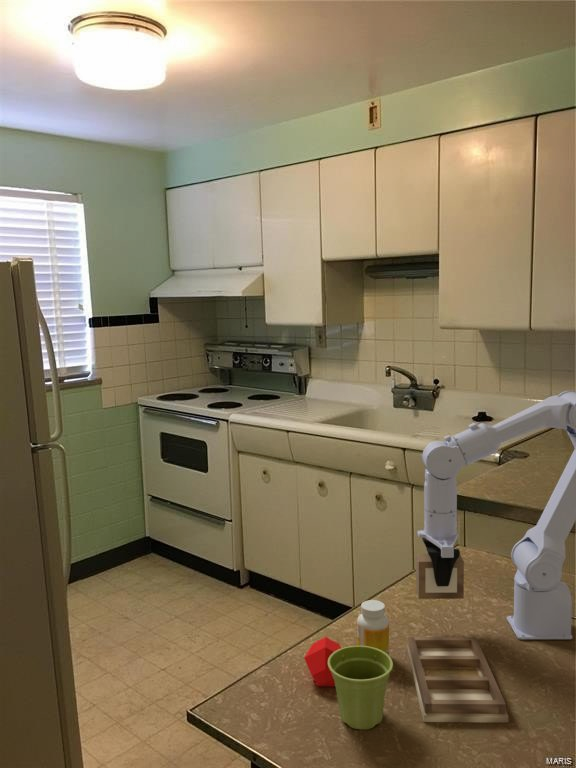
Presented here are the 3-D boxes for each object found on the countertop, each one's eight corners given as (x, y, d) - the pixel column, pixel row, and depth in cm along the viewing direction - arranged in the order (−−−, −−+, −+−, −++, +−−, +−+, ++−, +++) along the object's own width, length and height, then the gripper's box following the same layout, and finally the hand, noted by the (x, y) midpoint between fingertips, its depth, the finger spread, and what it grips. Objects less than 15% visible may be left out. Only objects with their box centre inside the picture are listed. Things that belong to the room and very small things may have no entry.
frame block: (459, 590, 122) (459, 553, 122) (463, 598, 119) (463, 561, 118) (416, 590, 123) (415, 554, 122) (418, 598, 119) (418, 561, 119)
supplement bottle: (350, 657, 113) (350, 604, 112) (372, 646, 116) (372, 595, 115) (374, 670, 109) (373, 615, 108) (395, 659, 112) (395, 605, 111)
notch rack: (476, 649, 115) (476, 635, 114) (508, 722, 95) (508, 706, 94) (406, 649, 115) (406, 635, 115) (423, 721, 95) (423, 705, 95)
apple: (343, 665, 101) (342, 623, 108) (300, 670, 102) (302, 628, 109) (352, 694, 104) (351, 652, 111) (310, 698, 106) (312, 656, 113)
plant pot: (329, 738, 93) (328, 680, 91) (328, 698, 102) (327, 645, 101) (396, 738, 92) (396, 680, 91) (389, 698, 101) (389, 644, 100)
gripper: (412, 496, 126) (412, 564, 128) (424, 522, 112) (424, 598, 114) (450, 496, 126) (449, 564, 128) (466, 521, 112) (465, 598, 113)
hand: (440, 580), depth 121 cm, fingers closed on frame block, 3 cm apart
